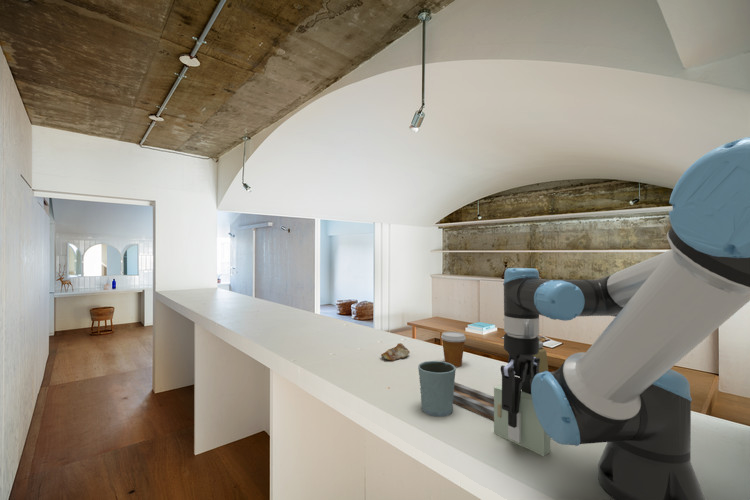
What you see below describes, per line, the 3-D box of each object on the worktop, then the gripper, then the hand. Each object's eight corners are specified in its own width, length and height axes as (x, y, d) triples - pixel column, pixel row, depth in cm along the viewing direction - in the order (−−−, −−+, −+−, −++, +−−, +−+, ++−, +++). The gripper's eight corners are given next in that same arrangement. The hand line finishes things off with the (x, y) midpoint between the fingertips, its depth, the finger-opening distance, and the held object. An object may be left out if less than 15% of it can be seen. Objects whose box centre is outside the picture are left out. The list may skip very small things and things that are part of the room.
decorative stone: (414, 344, 146) (394, 356, 134) (414, 353, 147) (395, 367, 135) (395, 340, 152) (375, 351, 140) (395, 349, 152) (375, 362, 140)
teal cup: (459, 407, 97) (460, 364, 97) (448, 421, 88) (448, 375, 88) (426, 399, 102) (426, 358, 102) (412, 412, 93) (412, 368, 93)
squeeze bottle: (520, 386, 112) (521, 331, 112) (523, 378, 119) (523, 327, 120) (548, 391, 108) (548, 334, 109) (549, 383, 116) (549, 329, 116)
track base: (519, 415, 92) (519, 405, 92) (502, 424, 87) (502, 414, 87) (448, 387, 111) (448, 379, 111) (431, 393, 106) (431, 385, 106)
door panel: (550, 451, 75) (550, 401, 75) (543, 456, 73) (543, 405, 73) (500, 429, 85) (500, 384, 85) (493, 433, 83) (493, 387, 83)
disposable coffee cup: (466, 369, 129) (466, 337, 129) (440, 367, 130) (440, 336, 131) (465, 361, 138) (465, 332, 138) (440, 360, 140) (441, 330, 140)
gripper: (525, 327, 88) (524, 418, 88) (484, 337, 77) (483, 441, 76) (555, 332, 82) (555, 430, 82) (516, 344, 71) (515, 457, 71)
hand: (520, 435), depth 79 cm, fingers open, 5 cm apart
